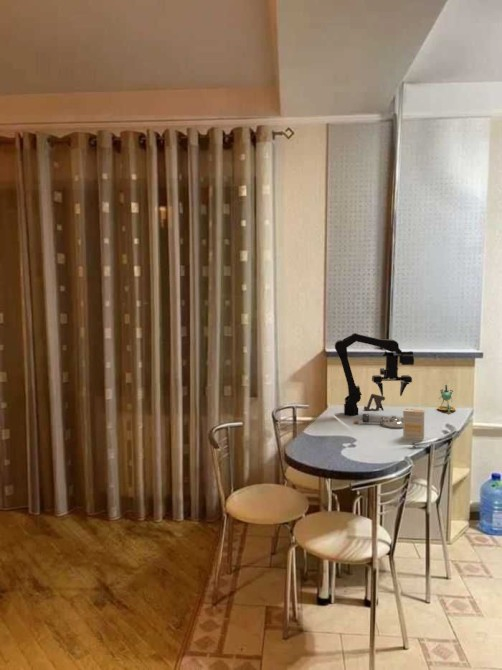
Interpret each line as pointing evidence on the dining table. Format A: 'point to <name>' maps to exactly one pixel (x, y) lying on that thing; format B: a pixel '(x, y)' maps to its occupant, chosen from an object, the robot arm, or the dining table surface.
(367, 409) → the portable electronic device stand
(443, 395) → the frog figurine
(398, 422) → the gear crank handle
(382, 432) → the dining table surface
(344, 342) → the robot arm
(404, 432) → the supplement box
